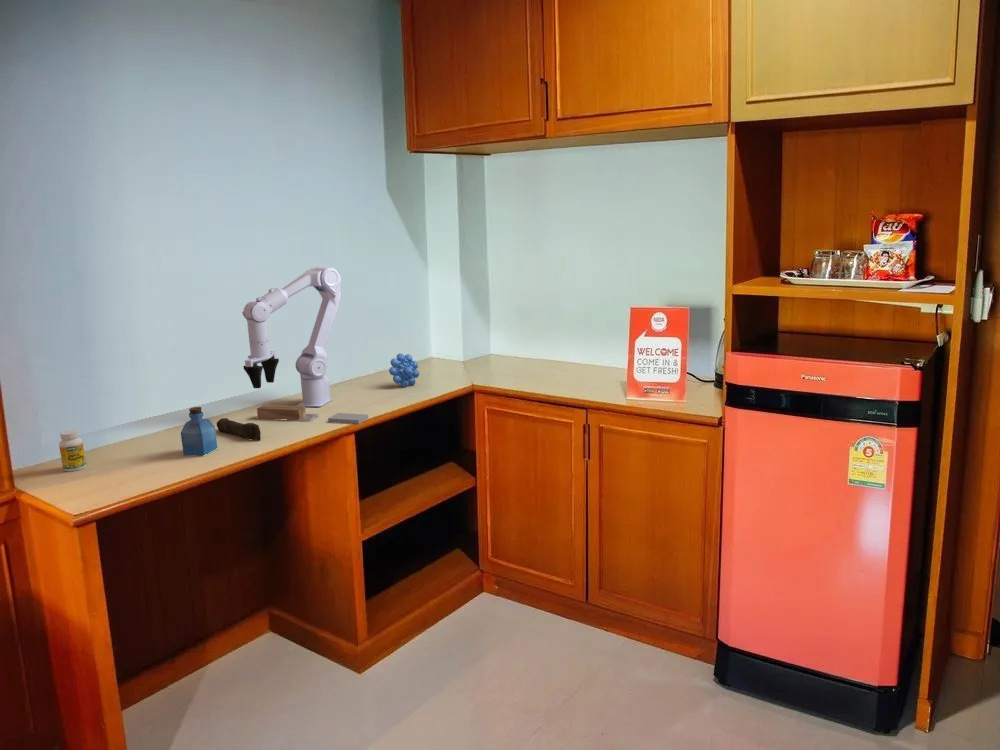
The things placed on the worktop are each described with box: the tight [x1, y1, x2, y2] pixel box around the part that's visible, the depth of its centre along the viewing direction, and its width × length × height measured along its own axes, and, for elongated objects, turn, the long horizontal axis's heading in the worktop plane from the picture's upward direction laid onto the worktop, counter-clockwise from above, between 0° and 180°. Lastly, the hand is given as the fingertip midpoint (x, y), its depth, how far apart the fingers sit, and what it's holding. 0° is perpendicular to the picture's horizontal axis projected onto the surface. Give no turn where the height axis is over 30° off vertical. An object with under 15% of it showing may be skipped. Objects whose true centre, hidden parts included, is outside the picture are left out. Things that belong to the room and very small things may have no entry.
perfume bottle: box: [180, 406, 218, 456], centre depth 217 cm, size 6×6×12 cm
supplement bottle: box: [58, 429, 87, 472], centre depth 208 cm, size 5×5×10 cm
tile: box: [327, 412, 369, 425], centre depth 244 cm, size 6×2×10 cm
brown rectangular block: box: [256, 404, 320, 422], centre depth 249 cm, size 5×18×4 cm, turn 75°
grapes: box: [388, 353, 420, 388], centre depth 281 cm, size 12×7×12 cm, turn 128°
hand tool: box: [216, 417, 262, 441], centre depth 232 cm, size 19×4×5 cm, turn 47°
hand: (263, 385), depth 252 cm, fingers open, 7 cm apart
